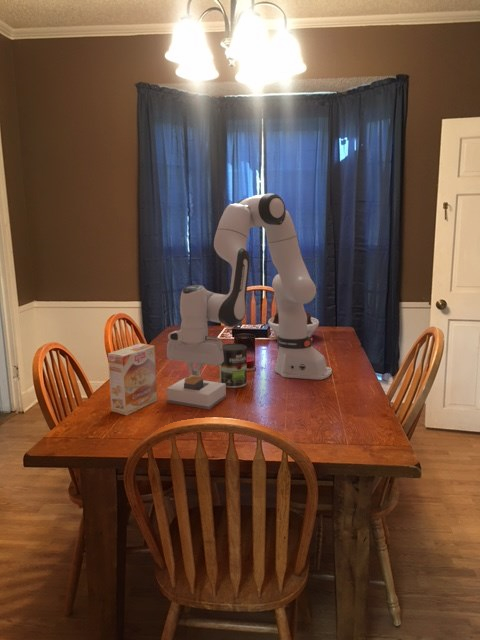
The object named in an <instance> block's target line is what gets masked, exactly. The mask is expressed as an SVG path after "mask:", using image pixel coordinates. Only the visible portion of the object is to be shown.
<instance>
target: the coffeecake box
mask: <svg viewBox="0 0 480 640" xmlns="http://www.w3.org/2000/svg"><path fill="white" fill-rule="evenodd" d="M155 349H156V347H155V345H151V344H148V343H147V344H146V343H141V342H140V343H136V344H134V345H133V344H132V345H130V346H127V347H125V348H121V349H118V350H114V351H111V352H109V353H107V362H108V374H109V375H108V376H109V395H110V407H111V409H110V410H111V412H113V413H117V414H120V415H124V416H128V415H130V414H132V413H134V412H136V411H138V410H140V409H143V408H145V407H147V406H149V405H151V404H154V403H156V402H157V401H158V396H157V395H158V394H157V392H158V391H157V375H156V374H157V371H156V370H157V368H156V352H155V351H156V350H155Z"/></svg>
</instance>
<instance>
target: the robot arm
mask: <svg viewBox="0 0 480 640" xmlns="http://www.w3.org/2000/svg"><path fill="white" fill-rule="evenodd" d="M217 225H218V226H217V229H216V230H215V235H214V239H213V248H214V250H215V253H216V254H217V256H219V258H221V259H222V260H223V261H226V262H227V263H229V265H230V266H231V270H232V271H231V272H232V273H231V281H230V287H229V288H230V289H229V292H228V293H227V294H224V293H223V294H222V293H218V292H217V293H216V292H213V291H209V290H207V289H206V288H205V286H203V285H200V284H194V285H189V286H185V287H184V288H183V289H182V291H181V293H180V299H179V309H180V310H179V311H180V312H179V313H180V318H181V323H180V328H179V329H176V330H174V331H171V332H169V333H168V334H167V339H168V341H167V345H166V357H167V358H168V360H171V361H178V362H186V364H187V367H188V369H189V371H190V375H196V376H199V375H201V372H202V371H201V370H202V369H203V366H204V365H206V366H215V367H219V365H221V364H222V363H223V362H224V355H223V345H224V343H223V341H222V340H221V339H220V338H219V337H218V336H210V335H208V334H209V333H208V328H209V327H208V321H210V322H214V323H219V324H223V325H225V326H229V327H235V326H237V325H239V324H240V323H241V322H242V321H243V320H244V318H245V317H246V315H247V293H248V285H249V282H248V281H249V274H250V266H251V263H250V262H251V259H250V258H251V257H250V254H249V252H248V251H247V242H248V239H249V238H248V237H249V235H250V230H251V228H260V227H263V229H264V230H265V234H266V235H265V237H266V241H267V246H268V249H269V254H270V258H271V261H272V264H273V265H274V267H275V269H276V272H277V274H276V275H275V276H274V277H273V280H272V283H271V286H272V287H271V288H272V289H273V293H274V296H275V303H276V309H277V313H278V316H279V335H278V338H277V342H276V343H277V344H276V345H277V357H276V358H277V359H276V363H275V367H274V372H275V373H276V374H278V375H280V376H281V377H282V378H291V379H303V380H305V379H306V380H324V379H327V378H329V377H330V376H331V375H332V373H333V371H332V368H331V367H329V366H327V360H326V357H325V356H324V355H323V354H322V353H321V352H319V351H318V350H317V348H315V347H313V346H312V344H313V337H310V338H309V337H308V336H307V315H306V313H307V312H306V310H305V307H304V304H308V303H310V302H312V301H313V300H314V298H315V297H316V293H317V286H316V284H315V283H314V281H313V279H311V276H310V273H309V271H308V269H307V266H306V264H305V262H304V260H303V257H302V253H301V249H300V245H299V240H298V236H297V232H296V231H297V230H296V228H295V224H294V222H293V220H292V218H291V214H290V212H289V211H288V210H287V209H286V205H285V202H284V200H283V198H282V197H281V196H280V195H278V194H276V193H264V194H262V193H261V194H256V195H253V196H251V197H247V198H242V199H240V200H239V201H237V202H236V203H231V204H228V205H227V207H225V209H224V210H223V213H222V215H221V217H220V219H219V221H218V224H217ZM194 364H196V367H197V368H195V366H194Z"/></svg>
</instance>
